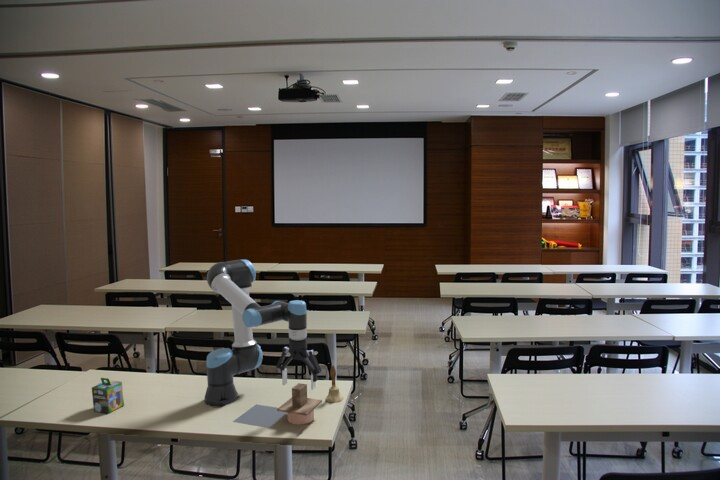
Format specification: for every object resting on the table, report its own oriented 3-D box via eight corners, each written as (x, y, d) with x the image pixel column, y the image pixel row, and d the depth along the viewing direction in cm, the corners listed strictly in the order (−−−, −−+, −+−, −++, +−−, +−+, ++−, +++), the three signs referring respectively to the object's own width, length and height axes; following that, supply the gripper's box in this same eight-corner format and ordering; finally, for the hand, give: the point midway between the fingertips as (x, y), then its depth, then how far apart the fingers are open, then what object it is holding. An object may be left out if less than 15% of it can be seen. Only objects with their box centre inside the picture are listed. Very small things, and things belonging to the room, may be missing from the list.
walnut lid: (277, 410, 207) (276, 390, 206) (293, 397, 220) (292, 378, 219) (307, 415, 202) (306, 394, 201) (322, 401, 215) (321, 382, 214)
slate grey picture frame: (232, 422, 210) (232, 421, 209) (256, 405, 226) (256, 404, 226) (269, 429, 203) (269, 428, 203) (290, 411, 220) (290, 409, 220)
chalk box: (124, 405, 229) (122, 374, 228) (108, 414, 221) (106, 382, 219) (109, 403, 232) (106, 372, 231) (92, 411, 224) (90, 379, 222)
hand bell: (329, 404, 226) (328, 370, 225) (322, 397, 234) (322, 364, 232) (345, 400, 230) (345, 367, 228) (339, 394, 237) (338, 361, 236)
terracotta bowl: (283, 423, 208) (282, 410, 207) (294, 412, 218) (294, 399, 218) (307, 427, 204) (306, 413, 204) (317, 415, 215) (317, 402, 214)
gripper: (267, 337, 209) (268, 385, 211) (320, 343, 200) (321, 394, 202) (276, 332, 216) (277, 379, 218) (328, 338, 207) (329, 387, 209)
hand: (298, 386), depth 210 cm, fingers open, 13 cm apart
